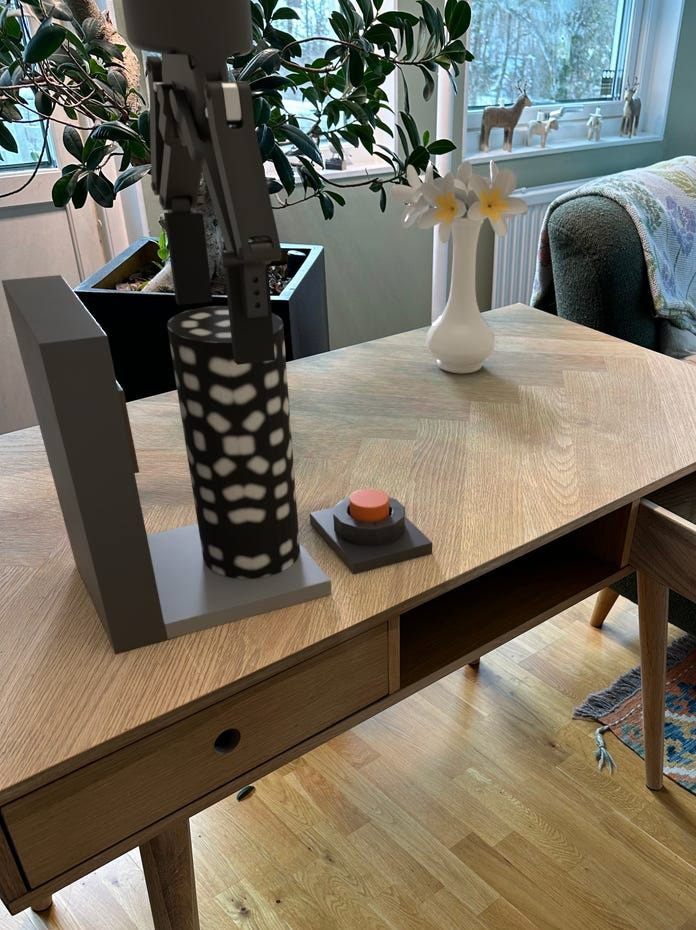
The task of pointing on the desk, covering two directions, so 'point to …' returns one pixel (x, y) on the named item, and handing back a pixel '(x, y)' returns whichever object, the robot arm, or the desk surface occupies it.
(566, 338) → the desk surface
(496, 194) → the flower vase
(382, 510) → the button
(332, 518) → the pad
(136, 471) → the grey l-shaped bookend
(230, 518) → the white-spotted black cylinder
